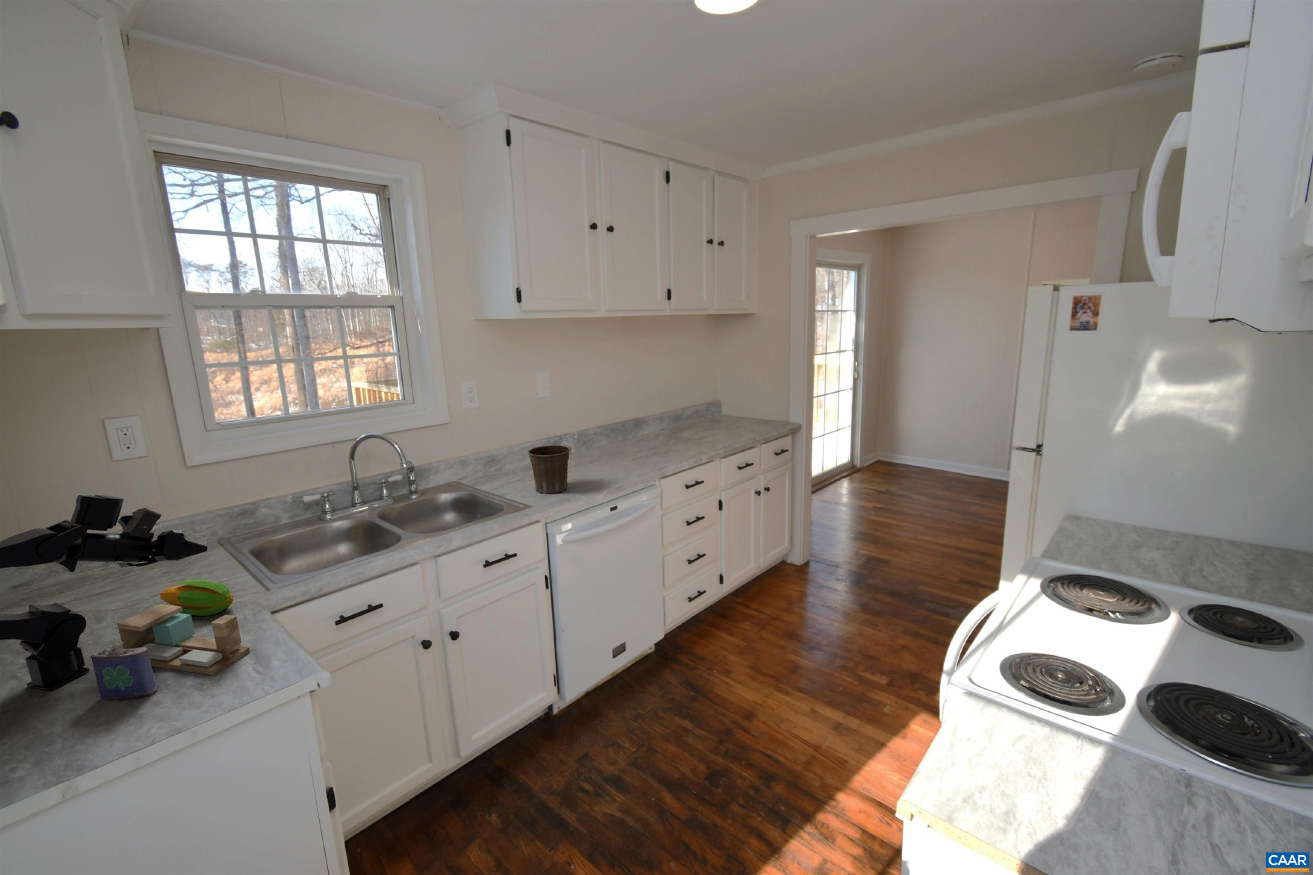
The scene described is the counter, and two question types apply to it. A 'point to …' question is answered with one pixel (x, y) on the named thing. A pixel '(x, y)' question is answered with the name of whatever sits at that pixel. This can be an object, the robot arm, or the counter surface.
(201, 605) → the corn
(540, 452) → the plant pot
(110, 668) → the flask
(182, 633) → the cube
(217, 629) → the strip
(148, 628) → the board
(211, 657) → the strip
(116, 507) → the robot arm
